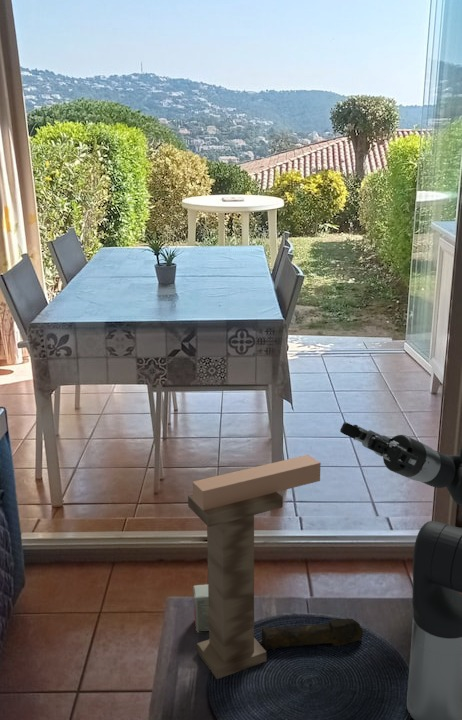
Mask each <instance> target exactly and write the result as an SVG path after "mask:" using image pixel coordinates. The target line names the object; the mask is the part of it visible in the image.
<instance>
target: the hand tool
mask: <svg viewBox="0 0 462 720" xmlns="http://www.w3.org/2000/svg"><path fill="white" fill-rule="evenodd" d="M363 633H364V632H363V629H362V626H361V625H360V623H359V621H357V620H356V619H355V620H354V618H332V619H331V620H330V621H329V622H328V623H323V624H322V623H321V624H310V625H309V624H308V625H307V624H306V625H298V626H283V627H270V628H269V627H266V626H264V625H263V626H262V628H261V643H262V647H263V648H264V649H265V651H266V652H267V651H268V650H272V651H275V650H276V649H278V648H279V649H280V648H288V647H298V646H299V647H303V646H312V645H320V644H321V645H323V644H331V645H332V646H334V647H338V646H344V645H347V644H351V643H354V642H358V641H360V640H362V639H363Z"/></svg>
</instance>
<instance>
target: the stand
mask: <svg viewBox="0 0 462 720" xmlns="http://www.w3.org/2000/svg"><path fill="white" fill-rule="evenodd" d="M283 499H284V498H283V495H281V494H280V493H278V492H275V493H271V494H267V495H263V496H259V497H255V498H251V499H247V500H243V501H239V502H235V503H231V504H227V505H223V506H220V507H216V508H212V509H208V510H204V511H203V510H202V509H201V508H200V507H199V506H198V505H197V504H196V503H195V502H194V501H193V494H191V495H189V494H188V495H187V505H188V508H189V509H190V510H191V512H193V513H194V514H195V515H196V516H197V517H198V518H199V519H200V520H201V521H202V522H203V523H204V525H206V536H207V537H206V539H207V540H206V541H207V584H208V599H209V632H208V636H209V637H208V639H206V640H205V639H204V640H203V641H200V642H197V643H196V647H197V649H196V650H197V652H198V653H199V654H198V653H197V654H198V655H199V657H200V656H201V657H200V658H201V659H202V661H203V662H204V663H205V665H206V667H207V666H208V667H207V668H208V669H209V671H210V670H211V671H210V672H211V674H212V675H213V676H214V677H215V679H216V680H219V679H222V678H225V677H227V676H230V675H233V674H235V673H238V672H240V671H243V670H246V669H249V668H251V667H255V666H257V665H260V664H262V663H265V662H267V651H265V649H264V648H263V645H261V644H260V643H259V641H258V640H257V639H256V638H255V515H258V514H263V513H267V512H269V511H270V512H271V511H274V510H277V509H281V508H283V505H284V504H283Z"/></svg>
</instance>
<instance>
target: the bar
mask: <svg viewBox="0 0 462 720" xmlns="http://www.w3.org/2000/svg"><path fill="white" fill-rule="evenodd" d="M321 466H322V465H321V462H320V461H318V460H317V459H316V458H314V457H312V456H311V455H309V454H305V455H302V456H298V457H297V456H295V457H292V458H289V459H284V460H279V461H276V462H270V463H266V464H263V465H262V464H261V465H259V466H254V467H250V468H245V469H241V470H237V471H234V472H233V471H232V472H229V473H223V474H219V475H215V476H211V477H207V478H203V479H198V480H194V481H192V482H191V483H192V484H191V485H192V495H193V501H194V502H195V503H196V504H197V505H198V506H199V507H200V508H201V509H202V510H203V511H204V510H208V509H212V508H216V507H220V506H223V505H227V504H231V503H235V502H239V501H243V500H247V499H251V498H255V497H259V496H263V495H267V494H271V493H275V492H277V493H278V492H281V491H282V492H283V491H286V490H290V489H293V488H297V487H301V486H305V485H309V484H313V483H317V482H320V481H321Z"/></svg>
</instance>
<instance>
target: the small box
mask: <svg viewBox="0 0 462 720" xmlns="http://www.w3.org/2000/svg"><path fill="white" fill-rule="evenodd" d="M193 606H194V607H193V609H194V612H193V613H194V614H193V615H194V626H195V627H196V628H195V632H196V631H209V599H208V583H205V584H197V585H196V584H195V585H193Z"/></svg>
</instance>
